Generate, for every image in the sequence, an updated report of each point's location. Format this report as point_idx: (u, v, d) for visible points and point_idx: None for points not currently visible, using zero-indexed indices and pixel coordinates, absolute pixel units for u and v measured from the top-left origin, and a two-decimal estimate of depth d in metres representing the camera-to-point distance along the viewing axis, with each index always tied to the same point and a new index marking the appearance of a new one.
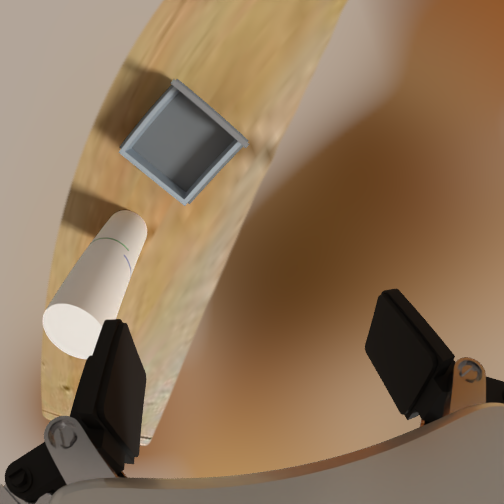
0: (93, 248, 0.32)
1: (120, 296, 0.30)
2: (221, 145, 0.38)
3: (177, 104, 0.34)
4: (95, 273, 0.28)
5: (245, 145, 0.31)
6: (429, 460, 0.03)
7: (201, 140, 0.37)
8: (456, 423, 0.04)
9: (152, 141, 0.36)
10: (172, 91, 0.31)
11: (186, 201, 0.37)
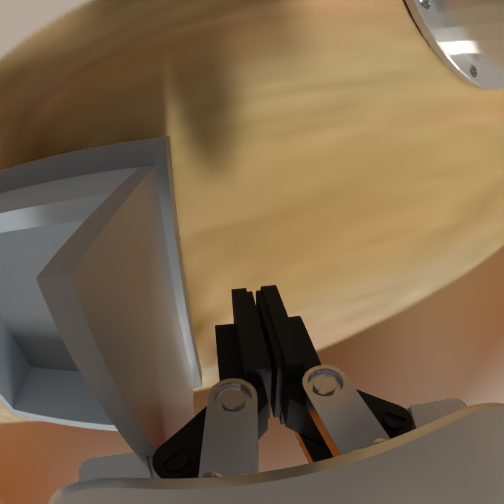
0: None
1: None
2: None
3: None
4: None
5: None
6: (429, 460, 0.03)
7: None
8: (456, 423, 0.04)
9: (3, 244, 0.10)
10: (91, 209, 0.07)
11: (16, 413, 0.11)
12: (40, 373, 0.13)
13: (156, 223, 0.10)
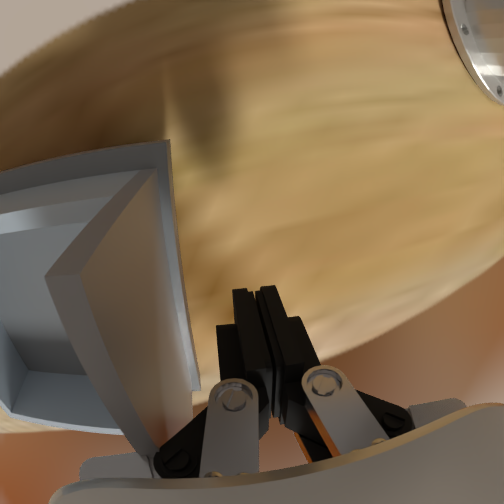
0: None
1: None
2: None
3: None
4: None
5: None
6: (429, 460, 0.03)
7: None
8: (456, 423, 0.04)
9: (2, 246, 0.10)
10: (94, 210, 0.07)
11: (14, 416, 0.10)
12: (38, 376, 0.13)
13: (157, 226, 0.10)
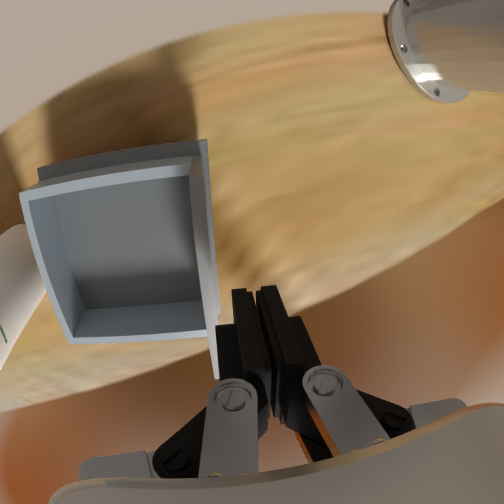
0: None
1: None
2: (179, 294, 0.22)
3: (168, 182, 0.18)
4: None
5: (218, 376, 0.16)
6: (429, 460, 0.03)
7: (157, 266, 0.20)
8: (456, 423, 0.04)
9: (86, 205, 0.17)
10: (179, 171, 0.15)
11: (74, 341, 0.18)
12: (94, 312, 0.20)
13: None
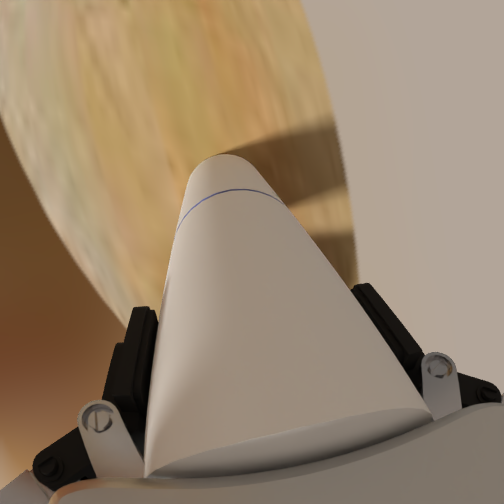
0: None
1: None
2: None
3: None
4: None
5: None
6: (429, 460, 0.03)
7: None
8: (456, 423, 0.04)
9: None
10: None
11: None
12: None
13: None
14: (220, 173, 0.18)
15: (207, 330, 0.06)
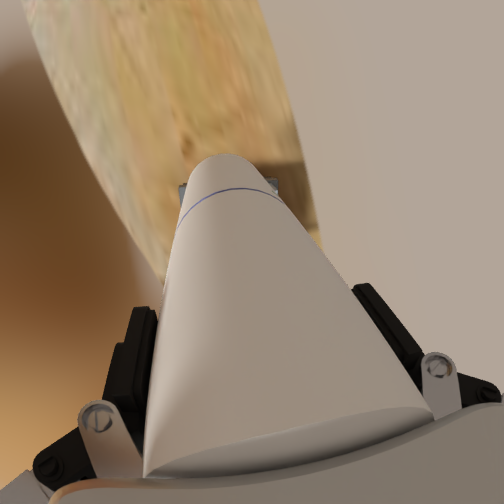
0: None
1: None
2: None
3: None
4: None
5: None
6: (429, 460, 0.03)
7: None
8: (456, 423, 0.04)
9: None
10: None
11: None
12: None
13: None
14: (220, 172, 0.18)
15: (207, 328, 0.06)
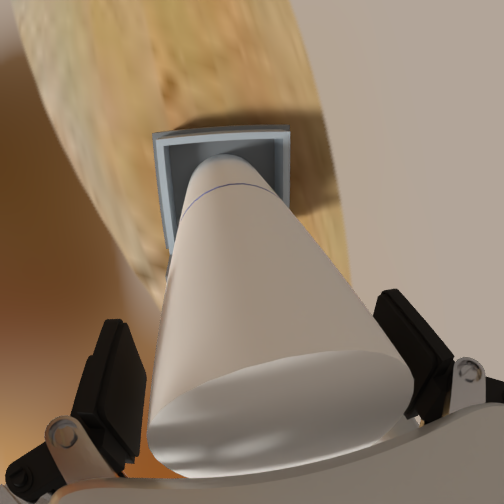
0: None
1: None
2: None
3: None
4: None
5: None
6: (429, 460, 0.03)
7: None
8: (456, 423, 0.04)
9: (256, 160, 0.28)
10: None
11: (158, 146, 0.23)
12: (168, 153, 0.26)
13: None
14: (220, 170, 0.20)
15: (208, 292, 0.07)
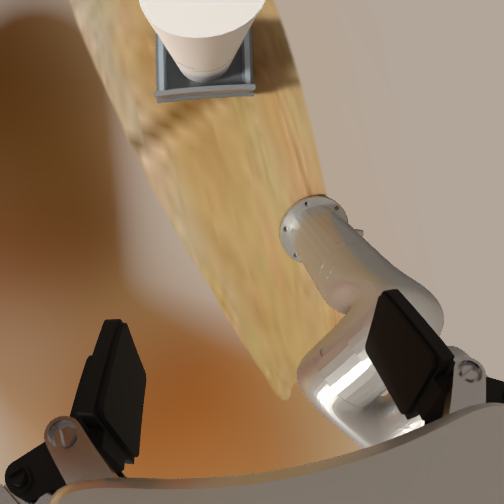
0: (234, 53, 0.22)
1: (166, 46, 0.17)
2: (172, 80, 0.34)
3: (234, 78, 0.35)
4: (217, 54, 0.18)
5: (156, 93, 0.28)
6: (429, 460, 0.03)
7: None
8: (456, 423, 0.04)
9: None
10: (247, 82, 0.32)
11: None
12: None
13: None
14: None
15: None
